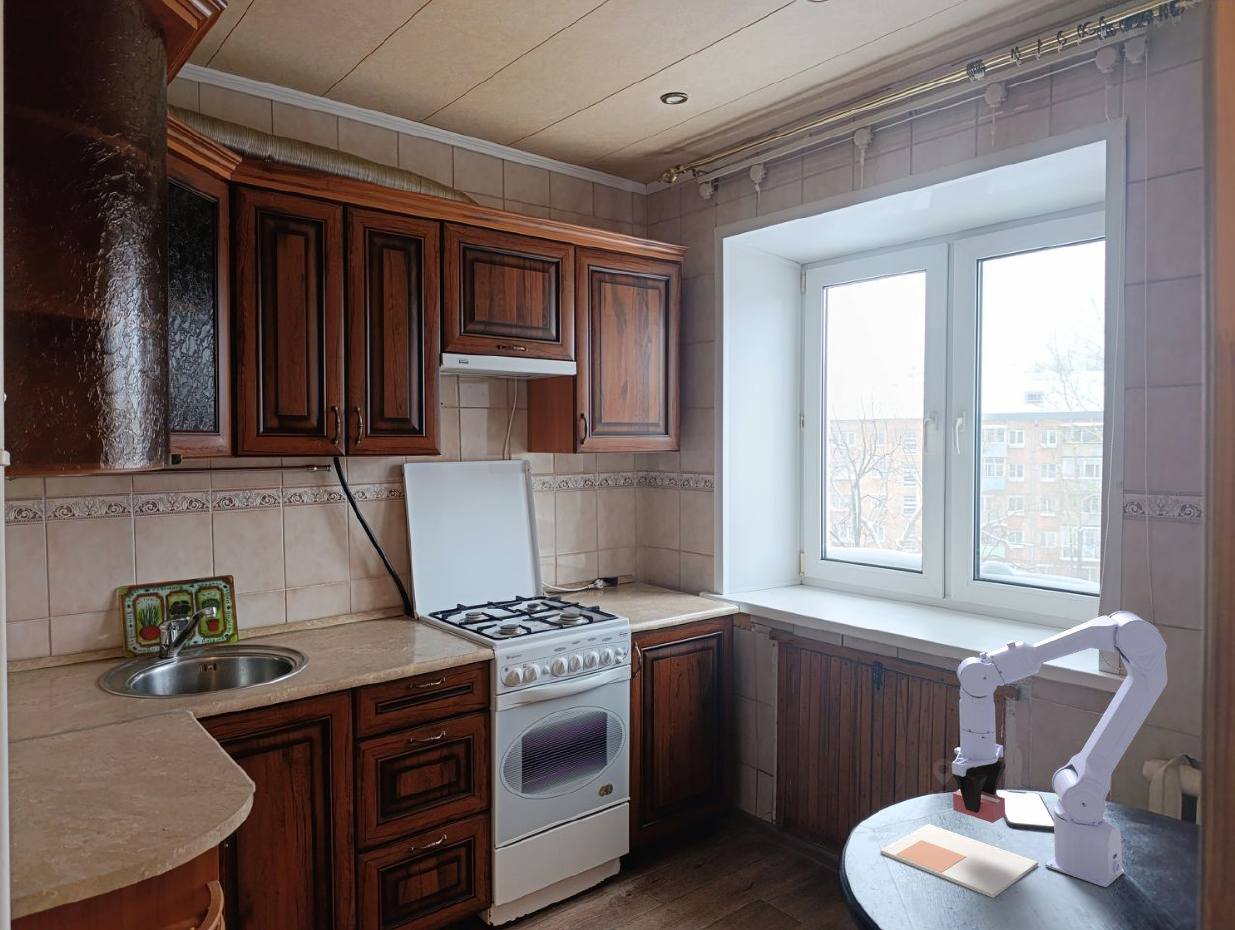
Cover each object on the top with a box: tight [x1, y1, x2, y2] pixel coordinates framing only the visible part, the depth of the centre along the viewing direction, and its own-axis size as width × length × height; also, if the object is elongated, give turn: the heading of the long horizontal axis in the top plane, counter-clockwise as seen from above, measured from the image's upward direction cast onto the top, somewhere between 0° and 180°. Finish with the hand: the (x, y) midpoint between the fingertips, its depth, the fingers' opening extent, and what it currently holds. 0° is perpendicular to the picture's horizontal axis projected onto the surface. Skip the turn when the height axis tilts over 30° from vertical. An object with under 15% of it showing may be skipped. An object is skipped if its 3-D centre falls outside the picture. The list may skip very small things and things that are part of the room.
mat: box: [880, 823, 1039, 899], centre depth 140 cm, size 20×16×1 cm
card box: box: [952, 788, 1005, 824], centre depth 141 cm, size 7×4×3 cm, turn 40°
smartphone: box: [995, 789, 1054, 833], centre depth 158 cm, size 9×2×16 cm
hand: (979, 806), depth 141 cm, fingers closed on card box, 4 cm apart
